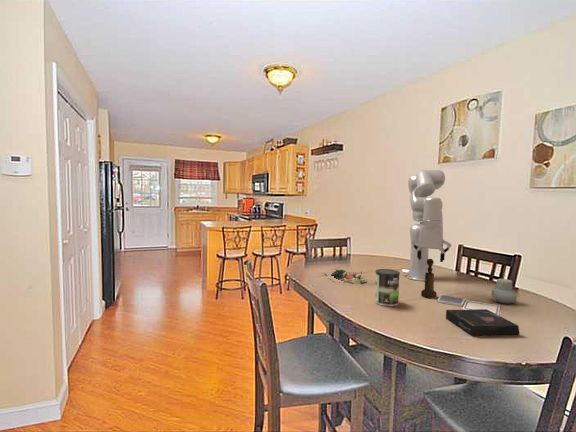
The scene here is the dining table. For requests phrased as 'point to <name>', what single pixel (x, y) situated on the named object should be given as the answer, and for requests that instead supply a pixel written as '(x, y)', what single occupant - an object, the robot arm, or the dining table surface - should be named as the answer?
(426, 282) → the brown wooden tall piece
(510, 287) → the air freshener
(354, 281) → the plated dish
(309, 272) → the dining table surface
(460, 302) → the pad
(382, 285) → the coffee can
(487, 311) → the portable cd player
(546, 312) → the dining table surface
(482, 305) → the paper sheet
